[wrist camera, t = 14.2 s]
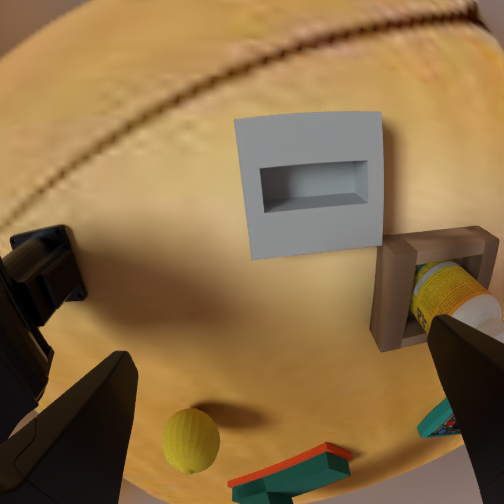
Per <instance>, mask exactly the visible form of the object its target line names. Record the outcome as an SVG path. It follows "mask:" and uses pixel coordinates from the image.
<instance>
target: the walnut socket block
mask: <svg viewBox="0 0 504 504" xmlns="http://www.w3.org/2000/svg"><path fill="white" fill-rule="evenodd" d="M498 245H499V239H498V238H496V237H495V236H493V235H492V234H490V233H489V232H487V231H486V230H484V229H483V228H481V227H480V226H471V227H461V228H452V229H443V230H434V231H425V232H415V233H406V234H397V235H388V236H382V245H380V246H377V262H376V274H375V286H374V296H373V305H372V313H371V321H370V331H371V333H372V336H373V338H374V340H375V342H376V344H377V346H378V348H379V350H380V352H385V351H390V350H394V349H399V348H403V347H407V346H412V345H416V344H420V343H424V342H427V336H428V334H427V333H426V331H425V330H424V328H423V327H422V325H421V324H420V323H419V321H418V320H417V318H416V317H415V315H414V314H413V313H412V311H411V310H410V308H409V305H410V300H411V294H412V288H413V282H414V276H415V269H416V265H419V264H426V263H432V262H439V261H445V260H451V259H453V260H454V261H455V262H456V263H457V264H459V265H460V266H461V267H462V268H463V269H464V270H465V271H466V272H468V273H469V274H470V275H471V276H472V277H473V278H474V279H475V280H476V281H477V282H478V283H480V284H481V285H482V286H483V287H484V288H485V289H486V290H487V291H488V287H489V284H490V280H491V276H492V272H493V268H494V264H495V259H496V255H497V250H498Z"/></svg>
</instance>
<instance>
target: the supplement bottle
mask: <svg viewBox="0 0 504 504" xmlns="http://www.w3.org/2000/svg"><path fill="white" fill-rule="evenodd" d="M409 308H410V310H411V311H412V313H413V314H414V315H415V317H416V318H417V320H418V321H419V323H420V324H421V325H422V327H423V328H424V330H425V331H426V333H427V334H428V333H429V329H430V325H431V321H432V319H433V317H434V316H436V315H440V314H448V315H450V316H452V317H454V318H456V319H457V320H459V321H461V322H463V323H465V324H467V325H469V326H471V327H473V328H475V329H477V330H479V331H481V332H483V333H485V334H487V335H489V336H491V337H493V338H495V339H497V340H498V341H500V342H502V343H504V321H502V320H501V319H502V312H501V307H500V305H499V303H498V301H497V300H496V299H495V298H494V297H493V296H492V295H491V294H490V293H489V292H488V291H487V290H486V289H485V288H484V287H483V286H482V285H481V284H480V283H478V282H477V281H476V280H475V279H474V278H473V277H472V276H471V275H470V274H469V273H468V272H466V271H465V270H464V269H463V268H462V267H461V266H460V265H459V264H457V263H456V262H455V261H454V260H453V259H451V260H445V261H439V262H432V263H426V264H419V265H416V269H415V276H414V282H413V288H412V294H411V300H410V305H409Z"/></svg>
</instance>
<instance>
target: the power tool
mask: <svg viewBox="0 0 504 504" xmlns="http://www.w3.org/2000/svg"><path fill="white" fill-rule="evenodd" d="M351 459H352V455H351V453H350V452H348V451H345V450H343V449H341V448H338V447H336V446H333V445H331V444H329V443H327V442H325V443H323V444H321V445H319V446H317V447H315V448H312V449H310V450H308V451H306V452H304V453H301V454H299V455H297V456H295V457H292V458H290V459H288V460H285V461H283V462H280V463H278V464H275V465H273V466H270V467H268V468H265V469H262V470H260V471H257V472H254V473H251V474H248V475H245V476H242V477H239V478H236V479H233V480H230V481H228V487H230V488H232V501H234V502H237V503H240V504H293V501H292V497H295V496H298V495H301V494H304V493H307V492H310V491H312V490H315V489H318V488H321V487H323V486H326V485H328V484H331V483H333V482H336V481H338V480H341V479H343V478H345V477H348V476H350V475H351V474H350V470H349V465H348V461H349V460H351Z"/></svg>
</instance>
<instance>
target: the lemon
mask: <svg viewBox="0 0 504 504" xmlns="http://www.w3.org/2000/svg"><path fill="white" fill-rule="evenodd" d="M219 445H220V435H219V431H218V427H217V425H216V423H215V422H214V420H213V419H212V418H211V417H210V416H209V415H208V414H206V413H205V412H203V411H200V410H198V409H197V408H193V409H184V410H181V411H179V412H177V413H175V414H174V415H173V416H172V417H171V418H170V419H169V420H168V421H167V423H166V425H165V428H164V432H163V437H162V446H163V452H164V455H165V457H166V459H167V461H168V462H169V463H170V464H171V465H172V466H173V467H174V468H176V469H177V470H179V471H182V473H183V474H185V475H190V474H192V473H198V472H201V471H203V470H205V469H207V468H208V467H210V466H211V465H212V463H213V462H214V460H215V458H216V456H217V453H218V450H219Z"/></svg>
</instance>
